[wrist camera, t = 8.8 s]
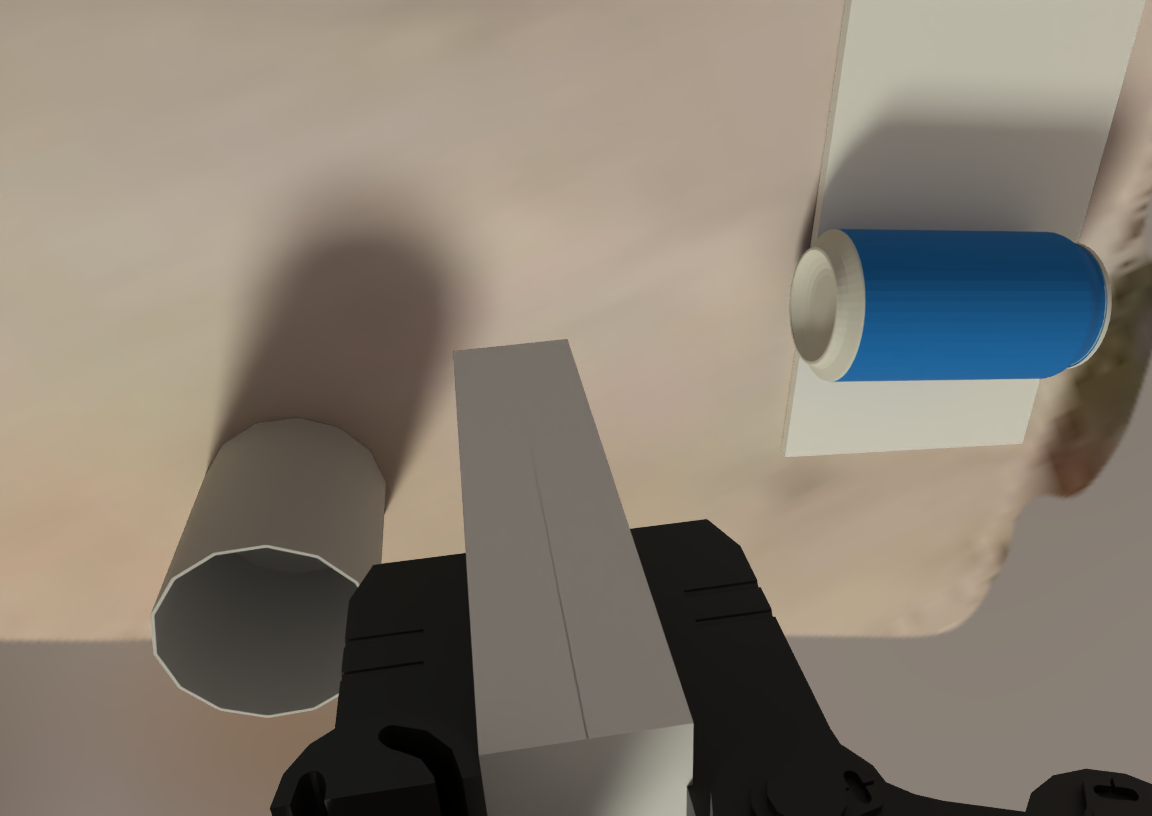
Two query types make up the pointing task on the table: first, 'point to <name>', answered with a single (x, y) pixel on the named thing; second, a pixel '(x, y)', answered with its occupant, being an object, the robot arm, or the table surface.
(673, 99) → the table surface
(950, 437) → the flat white box
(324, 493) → the cup
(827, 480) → the table surface
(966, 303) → the beverage can
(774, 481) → the table surface
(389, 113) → the table surface
